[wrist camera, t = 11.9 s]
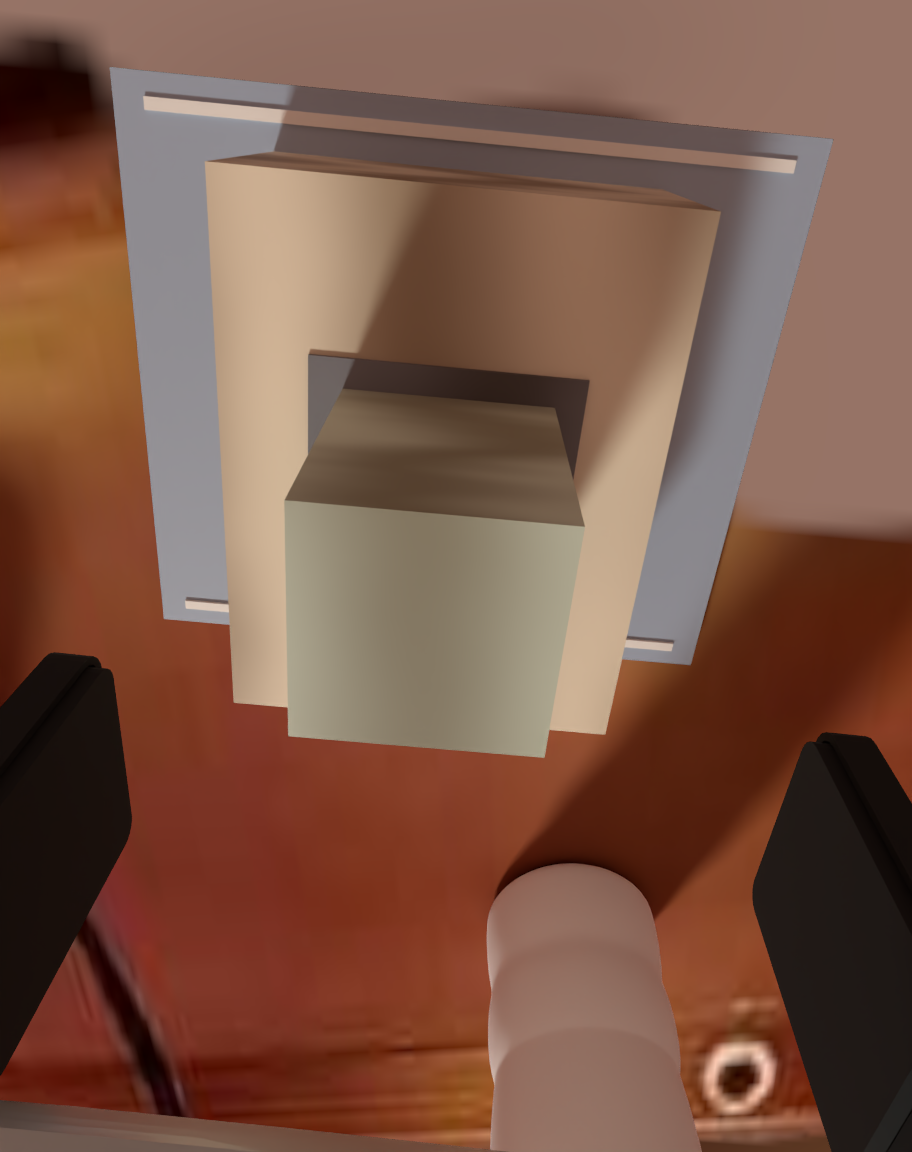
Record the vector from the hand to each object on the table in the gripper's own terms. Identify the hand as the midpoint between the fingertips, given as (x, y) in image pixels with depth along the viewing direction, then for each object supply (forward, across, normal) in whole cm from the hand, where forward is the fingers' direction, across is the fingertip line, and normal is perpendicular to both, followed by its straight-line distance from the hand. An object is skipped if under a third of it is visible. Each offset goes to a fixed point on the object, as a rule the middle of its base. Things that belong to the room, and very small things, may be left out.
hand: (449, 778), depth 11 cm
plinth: (+15, +1, 0) cm, 15 cm away
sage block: (+9, +1, 0) cm, 9 cm away
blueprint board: (+16, +1, 0) cm, 16 cm away
